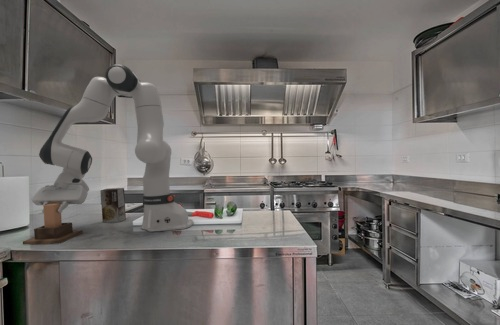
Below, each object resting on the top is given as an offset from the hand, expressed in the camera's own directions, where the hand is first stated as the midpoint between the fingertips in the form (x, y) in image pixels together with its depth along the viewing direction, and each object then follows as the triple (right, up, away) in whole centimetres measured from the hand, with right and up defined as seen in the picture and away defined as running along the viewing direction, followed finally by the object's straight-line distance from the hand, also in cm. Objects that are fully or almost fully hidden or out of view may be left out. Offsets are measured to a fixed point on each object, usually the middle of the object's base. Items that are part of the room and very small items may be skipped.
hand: (51, 212), depth 111 cm
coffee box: (+11, -10, +29) cm, 32 cm away
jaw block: (0, -6, +1) cm, 6 cm away
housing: (+1, -11, +1) cm, 11 cm away
